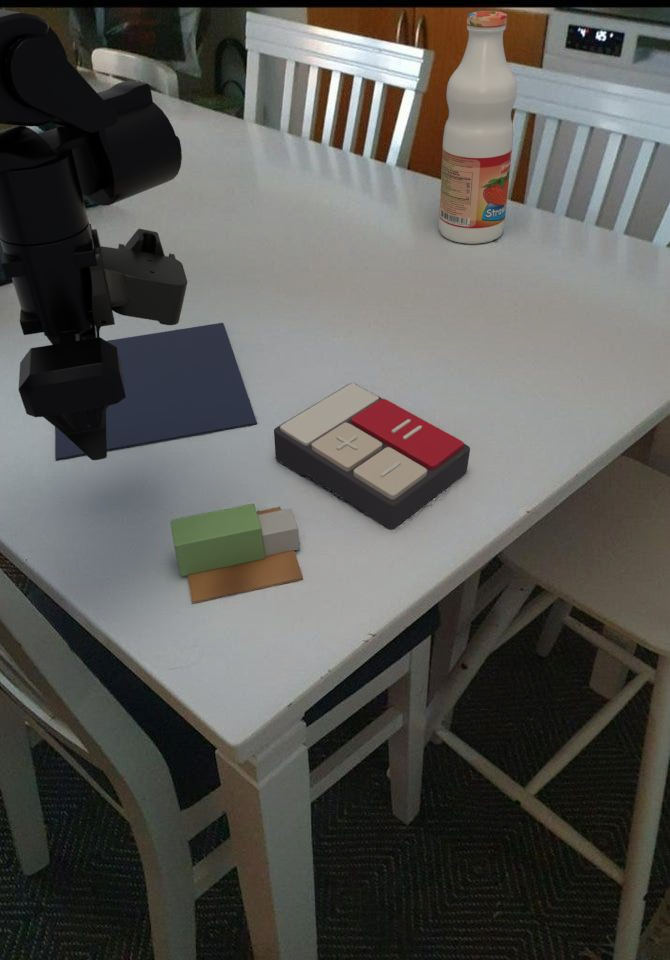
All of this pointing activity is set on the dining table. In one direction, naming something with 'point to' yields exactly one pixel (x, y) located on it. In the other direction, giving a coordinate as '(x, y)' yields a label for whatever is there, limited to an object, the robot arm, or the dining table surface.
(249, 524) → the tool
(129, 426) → the napkin
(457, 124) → the fruit juice
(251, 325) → the dining table surface
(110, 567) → the dining table surface
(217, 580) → the coaster
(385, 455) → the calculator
